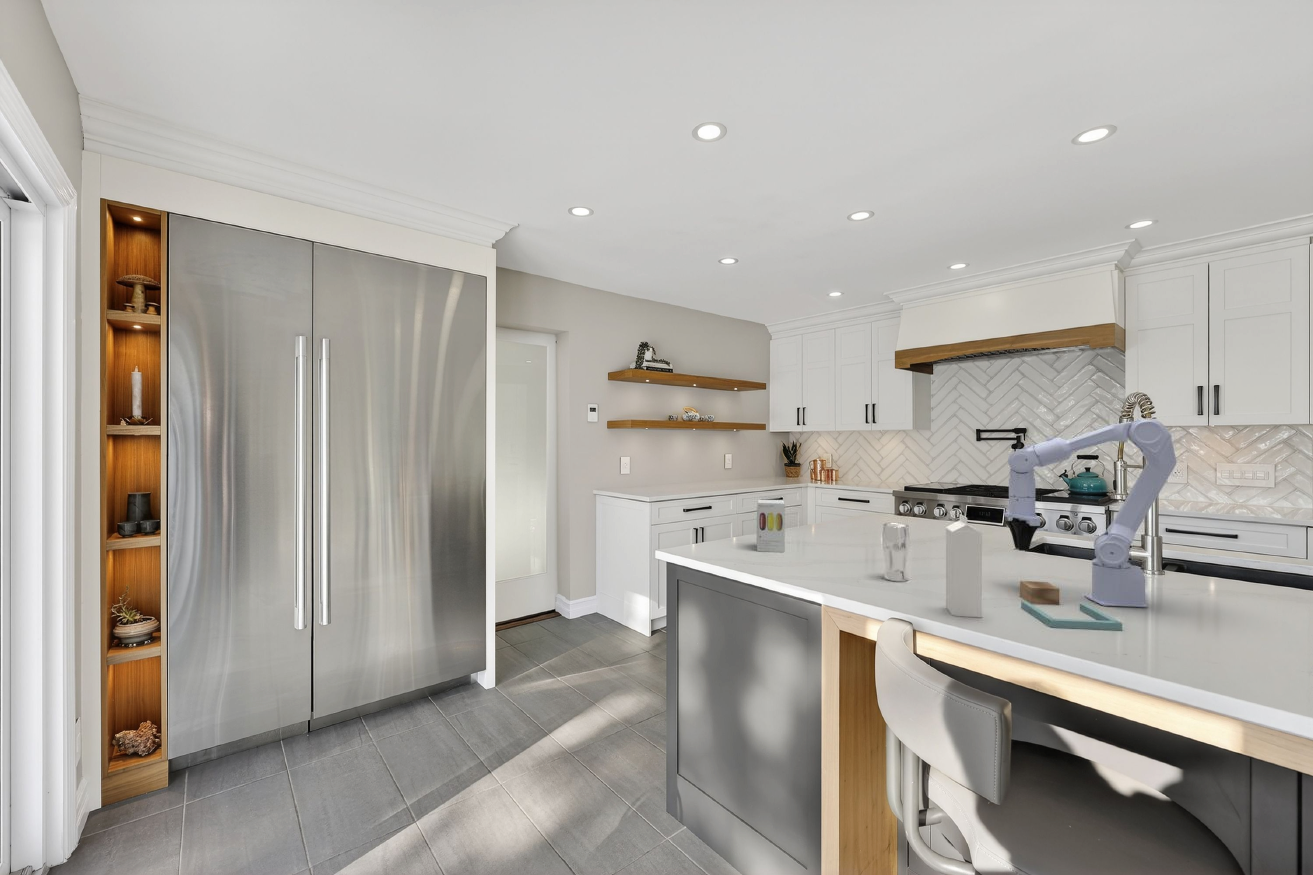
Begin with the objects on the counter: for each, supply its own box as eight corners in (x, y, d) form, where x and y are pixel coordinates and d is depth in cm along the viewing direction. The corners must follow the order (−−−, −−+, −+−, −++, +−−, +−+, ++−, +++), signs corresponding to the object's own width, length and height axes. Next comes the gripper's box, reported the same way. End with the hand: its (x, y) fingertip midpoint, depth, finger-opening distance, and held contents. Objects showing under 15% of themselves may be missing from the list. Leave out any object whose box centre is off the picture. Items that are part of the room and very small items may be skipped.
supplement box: (756, 551, 195) (756, 502, 195) (756, 546, 204) (756, 499, 204) (785, 552, 193) (785, 502, 193) (784, 546, 202) (783, 499, 202)
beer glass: (912, 582, 154) (912, 527, 154) (884, 581, 156) (884, 526, 156) (906, 576, 161) (906, 523, 161) (880, 575, 163) (880, 522, 162)
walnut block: (1047, 598, 140) (1047, 582, 140) (1059, 605, 134) (1059, 588, 134) (1020, 597, 141) (1020, 581, 141) (1031, 604, 136) (1031, 587, 135)
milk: (952, 616, 127) (951, 517, 127) (945, 607, 133) (944, 513, 133) (982, 617, 126) (982, 518, 126) (974, 609, 132) (973, 513, 131)
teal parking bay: (1085, 610, 130) (1085, 603, 130) (1122, 630, 117) (1122, 623, 117) (1021, 607, 133) (1021, 601, 133) (1050, 627, 120) (1050, 620, 120)
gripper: (993, 493, 154) (993, 543, 154) (1017, 499, 140) (1017, 555, 140) (1021, 493, 153) (1021, 543, 153) (1049, 500, 139) (1049, 556, 139)
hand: (1021, 549), depth 147 cm, fingers closed
